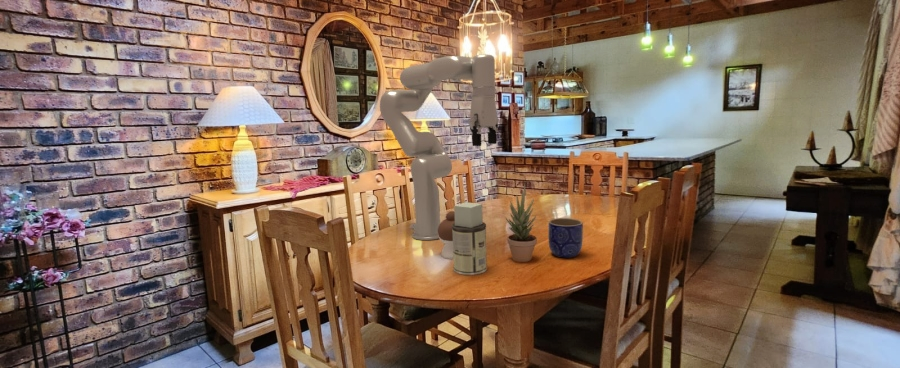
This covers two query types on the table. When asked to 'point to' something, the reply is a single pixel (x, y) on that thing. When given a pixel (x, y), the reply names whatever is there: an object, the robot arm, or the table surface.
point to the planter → (565, 237)
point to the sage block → (468, 214)
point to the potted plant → (521, 232)
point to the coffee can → (469, 249)
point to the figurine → (447, 235)
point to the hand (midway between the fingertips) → (484, 144)
